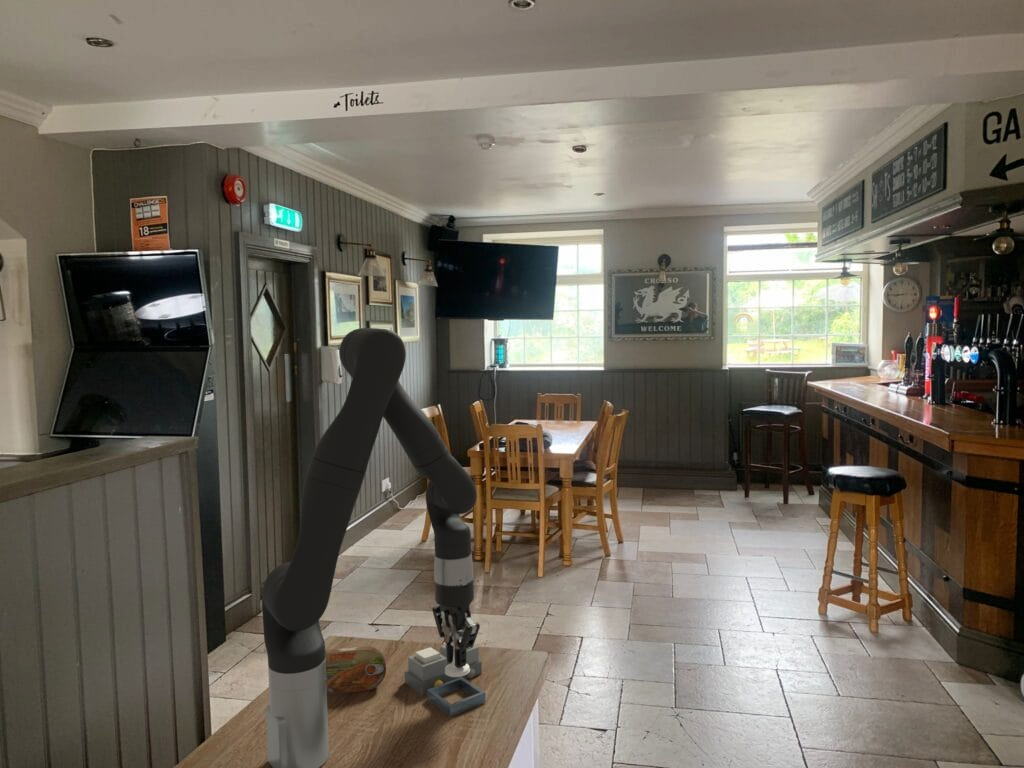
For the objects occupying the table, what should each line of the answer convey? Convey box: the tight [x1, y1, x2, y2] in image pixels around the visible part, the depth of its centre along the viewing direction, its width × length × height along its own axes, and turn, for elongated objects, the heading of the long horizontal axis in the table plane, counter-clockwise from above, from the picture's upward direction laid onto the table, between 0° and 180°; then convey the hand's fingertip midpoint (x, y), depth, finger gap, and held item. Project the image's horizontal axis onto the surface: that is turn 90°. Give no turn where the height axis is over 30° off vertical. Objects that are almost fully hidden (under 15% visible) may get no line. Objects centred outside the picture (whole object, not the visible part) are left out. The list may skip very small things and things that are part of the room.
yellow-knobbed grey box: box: [403, 643, 483, 697], centre depth 148 cm, size 14×8×6 cm, turn 128°
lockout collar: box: [426, 677, 487, 718], centre depth 139 cm, size 8×8×2 cm
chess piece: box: [445, 630, 470, 677], centre depth 138 cm, size 5×5×10 cm
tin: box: [325, 645, 387, 695], centre depth 144 cm, size 15×3×8 cm, turn 99°
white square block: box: [414, 646, 440, 664], centre depth 146 cm, size 4×4×3 cm
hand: (456, 663), depth 138 cm, fingers closed on chess piece
